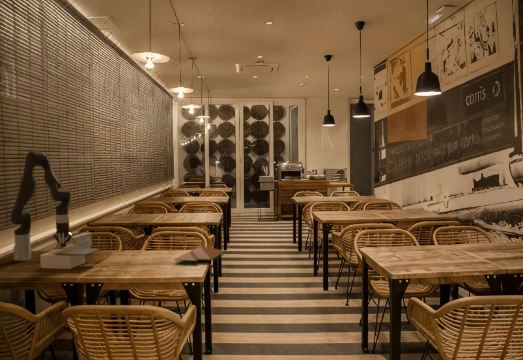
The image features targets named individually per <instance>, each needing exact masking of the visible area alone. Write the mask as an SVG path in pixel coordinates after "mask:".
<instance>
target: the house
mask: <svg viewBox="0 0 523 360" xmlns="http://www.w3.org/2000/svg"><path fill="white" fill-rule="evenodd" d="M224 252H225V250H223V249H222V250H221V249H219V248H218V249H217V248H213V247H207V246H200V247H197V248H195V249H191V250H190V251H187V252H185V253H184V254H182V255H180V256H178V257H176V258H174V259H173V260H174V261H176V264H181V262H183V263H186V261H187V264H192V262H194V264H197V263H198V264H199V263H200V262H203V260H205V261H206V262H209V261H212V262H215V261H216V260H218V259H220V258H221V257H224Z"/></svg>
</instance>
